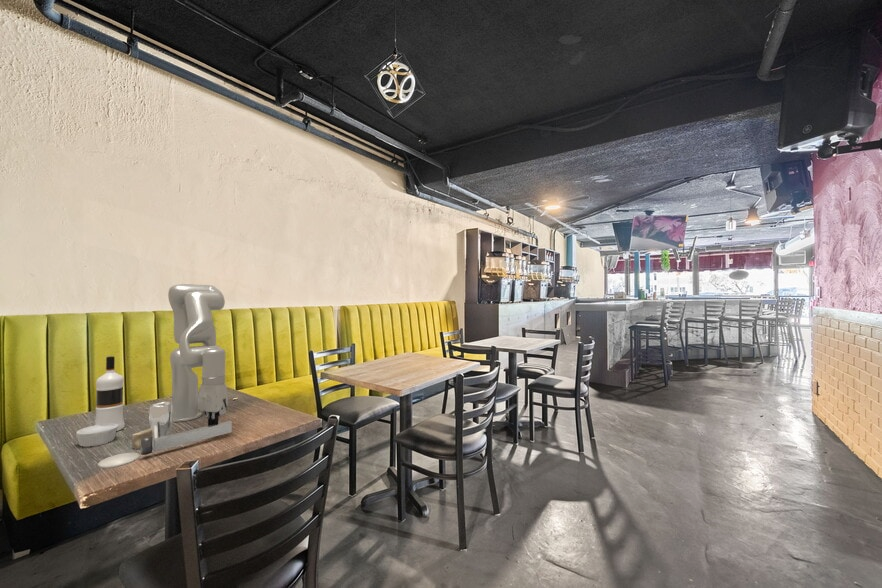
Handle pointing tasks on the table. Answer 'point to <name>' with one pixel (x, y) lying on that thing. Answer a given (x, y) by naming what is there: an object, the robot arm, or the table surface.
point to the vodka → (110, 396)
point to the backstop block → (138, 436)
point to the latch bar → (184, 437)
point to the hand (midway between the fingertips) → (213, 428)
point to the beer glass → (160, 419)
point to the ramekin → (96, 434)
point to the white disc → (118, 460)
